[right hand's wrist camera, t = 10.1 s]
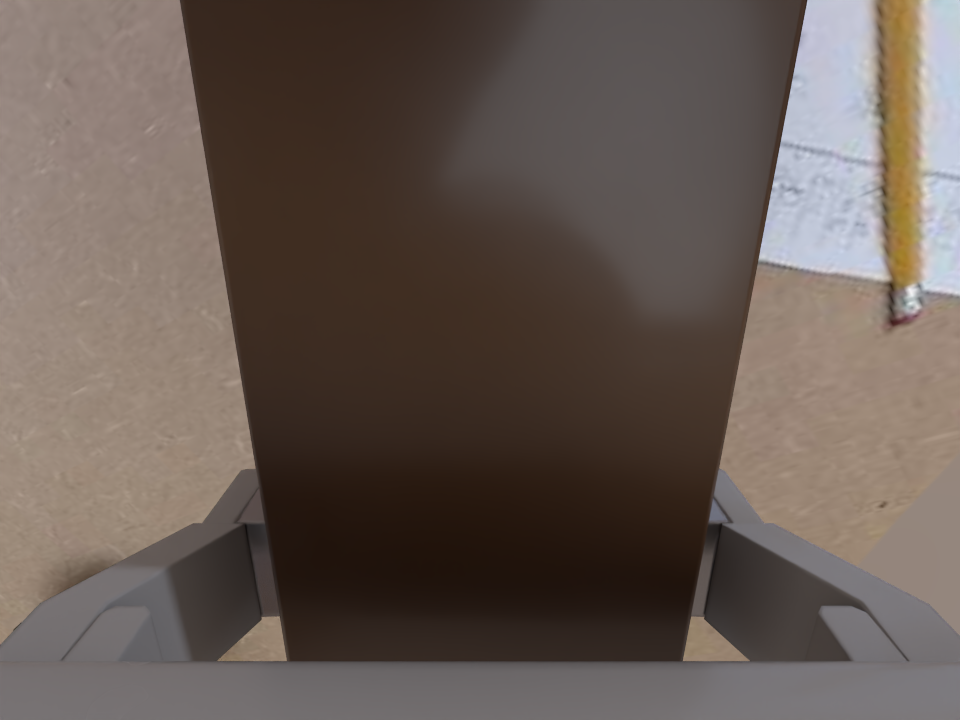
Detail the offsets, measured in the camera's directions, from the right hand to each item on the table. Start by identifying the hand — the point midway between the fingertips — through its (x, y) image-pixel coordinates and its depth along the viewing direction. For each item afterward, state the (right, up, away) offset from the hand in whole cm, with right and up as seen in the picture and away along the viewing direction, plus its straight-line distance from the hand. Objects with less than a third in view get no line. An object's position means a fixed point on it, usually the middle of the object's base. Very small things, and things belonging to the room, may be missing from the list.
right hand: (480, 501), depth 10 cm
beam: (0, +30, -9) cm, 31 cm away
